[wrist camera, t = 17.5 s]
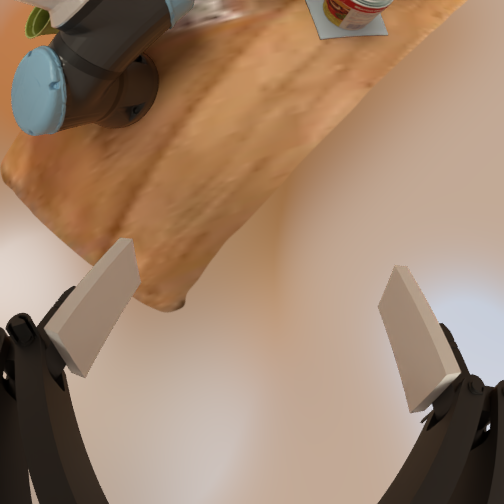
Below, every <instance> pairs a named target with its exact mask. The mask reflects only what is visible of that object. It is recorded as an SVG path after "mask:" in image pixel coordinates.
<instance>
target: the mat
mask: <svg viewBox="0 0 504 504" xmlns="http://www.w3.org/2000/svg"><path fill="white" fill-rule="evenodd" d="M305 1H306V3H307V6H308V8H309V11H310V13H311V16H312V18H313V21H314V23H315V26H316V29H317V32H318V34H319V37H320V40H321V39H329V38H339V37H352V36H376V35H388V33H387V30H386V27H385V24H384V22H383V19H382V16H381V14H379V15H377V16H376V17H375V18H374V19H373V20H372V21H371V22H370V23H369V24H367V25H366V26H365V27H364V28H362V29H359V30H345V29H342V28H339V27H337V26H336V25H334V24H332V23H331V22H330V21H329V20H328V19H327V17H326V16H325V14H324V11H323V3H324V0H305Z"/></svg>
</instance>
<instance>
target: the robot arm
mask: <svg viewBox="0 0 504 504" xmlns="http://www.w3.org/2000/svg"><path fill="white" fill-rule="evenodd" d="M16 1H20V2H23V3H27V4H30V5H33V6H36V7H39V8H41V9H44V10H47V11H48V12H49V14H50V21H51V27H53V28H55V29H58V30H60V31H59V32H58V33H57V35H56V36H55V37H54V39H53V40H52V41H51V43H50V44H49V46H40V47H38V48H35V49H34V50H33V51H30V52H28V53H27V54H26V55H25V56H24V58H23V59H22V60H21V62H20V64H19V66H18V68H17V70H16V73H15V75H14V79H13V84H12V91H11V98H12V101H11V102H12V110H13V114H14V117H15V120H16V122H17V124H18V125H19V127H20V128H21V129H22V130H23V131H24V132H25V133H27V134H29V135H33V136H38V135H43V134H54V133H56V132H58V131H62V130H65V129H69V128H73V127H77V126H81V125H85V124H89V123H95V124H98V125H100V126H103V127H107V128H119V127H124V126H128V125H131V124H133V123H135V122H136V121H138V120H139V119H141V118H142V117H143V116H144V115H145V114H146V113H147V111H148V110H149V109H150V107H151V106H152V104H153V102H154V100H155V97H156V94H157V90H158V72H157V69H156V66H155V64H154V63H153V61H152V60H151V59H150V58H149V57H148V56H147V55H146V54H144V53H142V52H143V51H144V50H145V49H146V48H148V47H149V46H150V45H151V44H152V43H153V42H154V41H155V40H156V39H157V38H158V37H160V36H161V35H162V34H163V33H164V32H165V31H166V30H168V29H171V28H173V27H174V25H175V23H176V22H177V21H179V20H180V19H181V18H182V17H183V16H184V15H186V14H187V13H188V12H189V11H190V10H191V9H192V8H193V5H194V0H16ZM140 283H141V280H140V276H139V271H138V266H137V261H136V255H135V250H134V244H133V239H129V238H119V239H118V240H117V242H116V243H115V244H114V245H113V246H112V247H111V248H110V249H109V250H108V251H107V252H106V253H105V254H104V255H103V257H102V258H101V259H100V260H99V261H98V262H97V263H96V264H95V265H94V267H93V268H92V269H91V270H90V271H89V272H88V273H87V275H86V276H85V277H84V278H83V279H82V280H81V282H80V283H79V284H78V285H77V286H73V287H71V288H69V289H68V290H66V291H65V292H64V293H63V294H62V295H61V297H60V298H59V299H58V301H57V302H56V303H55V304H54V306H53V307H52V308H51V309H50V310H49V312H48V313H47V314H46V315H45V317H44V318H43V320H42V321H41V322H40V323H39V325H38V326H37V327H36V326H35V324H34V323H33V321H32V319H31V317H30V316H29V315H28V314H26V313H19V314H17V315H15V316H13V317H12V318H11V319H10V320H9V322H8V323H7V326H6V330H7V332H8V333H9V335H10V336H8V335H7V334H6V332H5V331H4V329H2V328H1V327H0V504H32V499H31V492H30V485H29V473H30V476H31V479H32V483H33V486H34V489H35V492H36V495H37V498H38V501H39V504H109V503H108V501H107V499H106V497H105V495H104V493H103V491H102V489H101V486H100V485H99V482H98V480H97V477H96V475H95V473H94V470H93V468H92V465H91V463H90V460H89V457H88V455H87V452H86V449H85V446H84V443H83V440H82V437H81V434H80V431H79V428H78V424H77V421H76V417H75V413H74V410H73V406H72V402H71V398H70V393H69V389H68V384H67V379H66V374H65V372H64V370H63V369H64V367H65V366H66V365H67V366H68V368H69V369H70V371H71V372H72V373H74V374H76V375H79V376H81V377H84V378H85V377H86V376H87V374H88V372H89V370H90V368H91V366H92V364H93V362H94V360H95V359H96V357H97V355H98V353H99V352H100V349H101V348H102V346H103V344H104V343H105V341H106V339H107V337H108V336H109V334H110V332H111V330H112V329H113V327H114V325H115V324H116V322H117V320H118V319H119V317H120V315H121V313H122V312H123V310H124V308H125V307H126V305H127V304H128V302H129V300H130V299H131V297H132V296H133V294H134V293H135V291H136V289H137V288H138V286H139V285H140ZM378 309H379V311H380V314H381V317H382V320H383V323H384V325H385V328H386V331H387V334H388V337H389V340H390V344H391V346H392V350H393V353H394V356H395V359H396V363H397V366H398V370H399V373H400V376H401V380H402V384H403V388H404V391H405V395H406V399H407V403H408V407H409V411H410V413H414V412H420V411H424V410H425V409H426V408H428V407H429V406H430V405H431V404H432V405H433V410H432V411H431V412H430V413H429V414H428V415H427V416H426V417H424V418H423V420H422V421H421V423H423V422H424V421H425V420H427V421H426V423H425V425H424V427H423V430H422V431H421V433H420V435H419V437H418V440H417V441H416V443H415V445H414V447H413V449H412V451H411V452H410V454H409V456H408V458H407V460H406V461H405V463H404V465H403V466H402V468H401V470H400V471H399V473H398V474H397V476H396V478H395V479H394V481H393V482H392V484H391V485H390V487H389V488H388V490H387V491H386V493H385V494H384V495H383V497H382V498H381V500H380V501H379V502H378V504H504V380H502V381H500V382H499V383H498V384H497V385H496V386H495V387H490V386H485V385H484V383H483V382H482V380H481V379H480V378H479V377H478V376H476V375H473V374H472V375H470V373H469V371H468V369H467V366H466V364H465V362H464V360H463V357H462V355H461V353H460V351H459V349H458V348H457V347H458V346H457V344H456V342H454V338H453V336H452V334H451V333H450V331H449V330H448V328H447V327H446V326H445V325H444V324H443V323H438V321H437V319H436V317H435V315H434V313H433V311H432V309H431V307H430V306H429V304H428V302H427V300H426V298H425V296H424V294H423V293H422V291H421V289H420V288H419V286H418V284H417V282H416V281H415V279H414V278H413V276H412V274H411V273H410V271H409V269H408V267H406V266H397V265H395V266H394V269H393V271H392V274H391V276H390V279H389V281H388V284H387V286H386V289H385V291H384V294H383V296H382V298H381V301H380V303H379V305H378ZM3 371H4V372H5V373H6V374H7V376H6V379H4V378H3ZM489 424H490V430H488V431H486V426H487V425H489ZM28 469H29V473H28Z"/></svg>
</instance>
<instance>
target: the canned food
mask: <svg viewBox="0 0 504 504" xmlns="http://www.w3.org/2000/svg"><path fill="white" fill-rule="evenodd" d="M392 2H393V0H324V3H323V11H324V14H325V16H326V17H327V19H328V20H329V21H330V22H331V23H332V24H334V25H336V26H337V27H339V28H342V29H345V30H359V29H362V28H364V27H365V26H366V25H367V24H369V23H370V22H371V21H372V20H373V19H374V18H375V17H376V16H377V15H379V14H380V13H381V12H382V11H383V10H384V9H385V8H387V7H388V6H389V5H390V4H391V3H392Z"/></svg>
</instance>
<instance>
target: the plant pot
mask: <svg viewBox="0 0 504 504" xmlns="http://www.w3.org/2000/svg"><path fill="white" fill-rule="evenodd" d="M59 31H60V30H58V29H55V28H53V27H51V21H50V14H49V12H48V11H47V10H44V9H41V8H39V7H36V6H35V8H34V9H33V11H32V12H31V14H30V16H29V18H28V20H27V23H26V26H25V35H26V36H27V38H30V39H31V38H35V37H36V36H40V35H45V34H57V33H58V32H59Z"/></svg>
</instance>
